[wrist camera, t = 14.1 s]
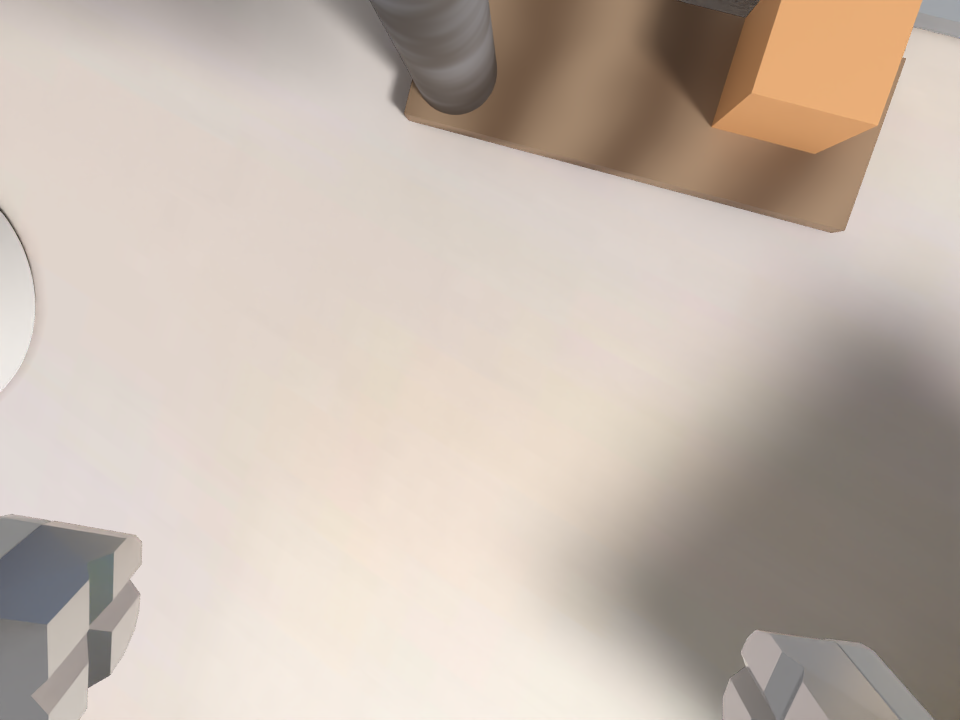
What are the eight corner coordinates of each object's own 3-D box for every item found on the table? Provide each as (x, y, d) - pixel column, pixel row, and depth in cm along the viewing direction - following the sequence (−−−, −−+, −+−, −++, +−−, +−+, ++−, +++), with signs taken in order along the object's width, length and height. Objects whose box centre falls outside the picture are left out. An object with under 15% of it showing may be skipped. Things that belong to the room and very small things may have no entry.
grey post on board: (408, 120, 30) (319, -7, 17) (448, -44, 29) (385, -316, 16) (831, 232, 29) (1080, 190, 16) (889, 68, 28) (1208, -122, 15)
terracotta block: (711, 126, 28) (751, 92, 23) (745, 18, 27) (794, -42, 22) (814, 154, 28) (878, 125, 23) (852, 44, 27) (925, -10, 22)
